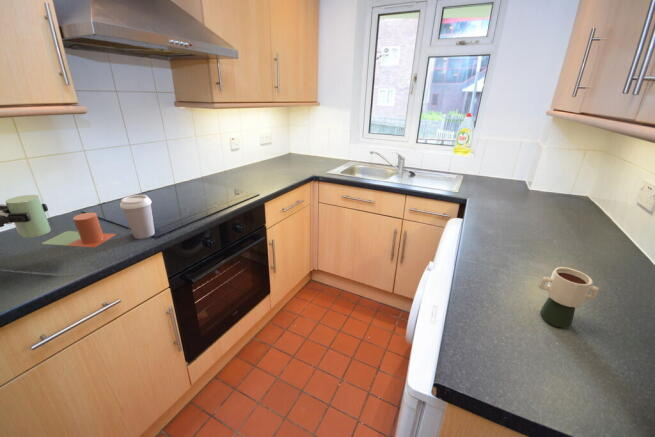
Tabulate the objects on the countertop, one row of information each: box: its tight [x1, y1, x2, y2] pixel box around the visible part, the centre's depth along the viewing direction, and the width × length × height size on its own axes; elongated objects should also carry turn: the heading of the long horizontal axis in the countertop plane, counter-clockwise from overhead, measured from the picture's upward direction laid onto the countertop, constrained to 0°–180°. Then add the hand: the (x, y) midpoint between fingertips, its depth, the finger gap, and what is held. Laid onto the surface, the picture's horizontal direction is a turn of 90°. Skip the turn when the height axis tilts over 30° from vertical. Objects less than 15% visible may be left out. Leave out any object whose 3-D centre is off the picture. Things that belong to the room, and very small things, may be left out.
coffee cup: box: [119, 194, 156, 240], centre depth 106 cm, size 10×10×15 cm
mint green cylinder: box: [4, 194, 52, 239], centre depth 80 cm, size 6×6×10 cm
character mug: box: [538, 266, 600, 329], centre depth 69 cm, size 11×7×13 cm, turn 69°
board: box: [40, 230, 117, 248], centre depth 105 cm, size 10×20×1 cm, turn 84°
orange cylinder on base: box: [72, 212, 104, 244], centre depth 102 cm, size 6×6×9 cm
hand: (38, 212), depth 80 cm, fingers closed on mint green cylinder, 6 cm apart
